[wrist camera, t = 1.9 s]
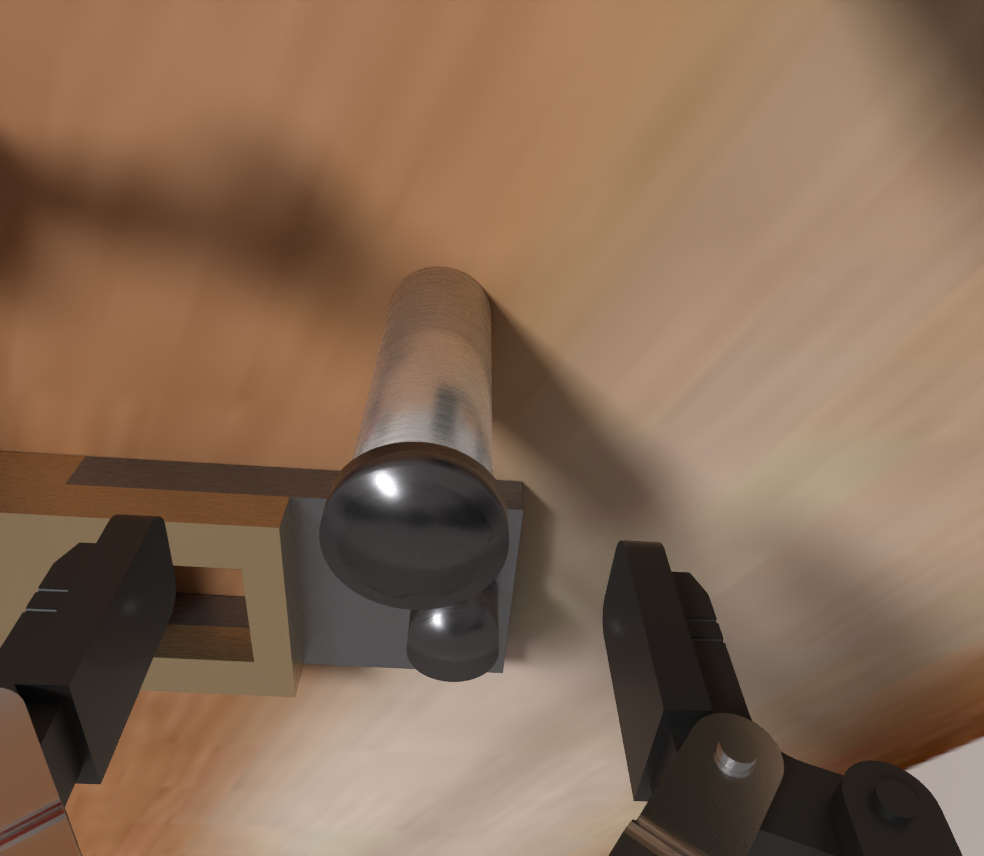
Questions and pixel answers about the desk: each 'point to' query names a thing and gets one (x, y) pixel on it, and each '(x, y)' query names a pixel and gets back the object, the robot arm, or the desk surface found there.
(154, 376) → the desk surface
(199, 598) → the two-tone base plate
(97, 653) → the robot arm
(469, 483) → the pin
